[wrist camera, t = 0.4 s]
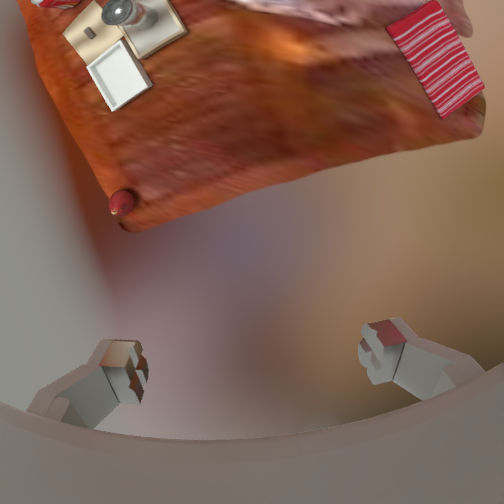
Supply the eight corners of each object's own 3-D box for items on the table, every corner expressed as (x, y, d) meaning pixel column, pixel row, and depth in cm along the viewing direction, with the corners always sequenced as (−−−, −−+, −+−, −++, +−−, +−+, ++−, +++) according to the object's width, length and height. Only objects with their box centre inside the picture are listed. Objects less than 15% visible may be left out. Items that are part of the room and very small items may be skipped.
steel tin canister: (129, 17, 33) (96, 10, 24) (151, 2, 32) (123, -10, 22) (139, 34, 36) (108, 31, 26) (162, 20, 35) (136, 11, 25)
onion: (137, 184, 58) (123, 201, 52) (140, 206, 62) (128, 225, 55) (115, 184, 58) (99, 201, 52) (119, 206, 62) (105, 224, 55)
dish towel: (432, -2, 28) (438, -3, 26) (481, 87, 38) (488, 89, 36) (380, 26, 36) (385, 25, 33) (438, 119, 46) (444, 122, 44)
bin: (93, 66, 41) (86, 67, 38) (127, 40, 38) (120, 39, 36) (118, 108, 47) (112, 111, 45) (153, 85, 45) (147, 86, 42)
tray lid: (64, 33, 34) (59, 33, 33) (95, 0, 31) (91, -1, 29) (92, 68, 41) (87, 68, 39) (125, 34, 37) (121, 34, 36)
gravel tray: (117, 14, 34) (110, 12, 32) (160, -14, 31) (155, -17, 29) (143, 59, 41) (137, 59, 39) (188, 32, 38) (184, 31, 36)
